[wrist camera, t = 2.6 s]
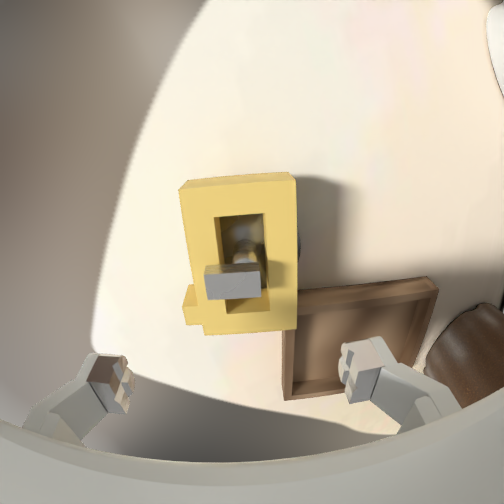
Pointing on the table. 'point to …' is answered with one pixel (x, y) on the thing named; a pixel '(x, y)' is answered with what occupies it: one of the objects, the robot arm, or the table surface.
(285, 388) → the tray
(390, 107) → the table surface
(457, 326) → the plant pot
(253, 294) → the silver knob
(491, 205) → the table surface
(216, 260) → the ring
